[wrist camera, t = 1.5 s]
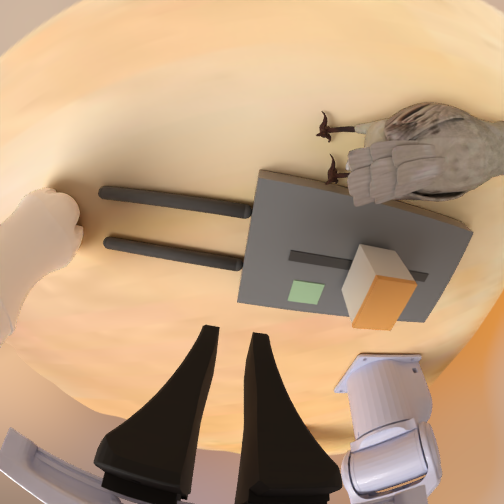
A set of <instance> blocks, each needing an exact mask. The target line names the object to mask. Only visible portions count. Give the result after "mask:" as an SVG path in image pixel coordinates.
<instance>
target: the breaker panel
mask: <svg viewBox="0 0 504 504" xmlns="http://www.w3.org/2000/svg"><path fill="white" fill-rule="evenodd" d="M472 235H473V231H471V230H470V229H469V228H468V227H467V226H466V225H465V224H464V223H462V222H461V221H458V220H455V219H453V218H450V217H447V216H444V215H441V214H438V213H435V212H432V211H429V210H426V209H422V208H419V207H416V206H413V205H409V204H406V203H403V202H399V201H396V200H389V201H386V202H384V203H380V204H375V201H374V202H371V203H368V204H365V205H363V206H357V207H356V206H354V202H353V196H351V195H350V194H349V190H348V188H347V187H342V186H338V185H334V184H328V185H325V182H321V181H316V180H311V179H306V178H302V177H297V176H291V175H286V174H281V173H275V172H270V171H264V170H259V175H258V181H257V186H256V192H255V198H254V204H253V209H252V215H251V221H250V227H249V233H248V238H247V244H246V250H245V256H244V262H243V268H242V274H241V280H240V286H239V293H238V300H237V302H239V303H245V304H252V305H258V306H265V307H272V308H280V309H287V310H295V311H303V312H311V313H319V314H328V315H337V316H347V317H350V316H349V313H348V310H347V306H346V303H345V300H344V296H343V293H342V290H341V289H342V287H343V284H344V282H345V280H346V277H347V275H348V272H349V270H350V267H351V265H352V262H353V260H354V257H355V255H356V252H357V250H358V247H359V244H363V245H368V246H373V247H378V248H383V249H388V250H393V251H396V253H397V254H398V256H399V257H400V259H401V260H402V262H403V263H404V265H405V266H406V268H407V269H408V271H409V272H410V274H411V275H412V277H413V278H414V280H415V282H416V283H417V286H416V288H415V290H414V292H413V294H412V296H411V297H410V299H409V301H408V303H407V304H406V306H405V308H404V309H403V311H402V313H401V314H400V316H399V318H398V319H397V321H407V322H425V320H426V319H427V317H428V316H429V314H430V313H431V311H432V310H433V308H434V306H435V305H436V303H437V302H438V300H439V298H440V297H441V295H442V293H443V291H444V290H445V288H446V286H447V284H448V283H449V281H450V279H451V277H452V275H453V274H454V272H455V270H456V268H457V266H458V264H459V262H460V260H461V258H462V256H463V254H464V252H465V250H466V248H467V246H468V243H469V241H470V239H471V237H472Z"/></svg>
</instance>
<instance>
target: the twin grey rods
mask: <svg viewBox="0 0 504 504" xmlns="http://www.w3.org/2000/svg"><path fill="white" fill-rule="evenodd" d="M98 194H99V197H100V198H102V199H107V200H116V201H124V202H132V203H140V204H148V205H155V206H163V207H170V208H177V209H184V210H191V211H198V212H205V213H212V214H218V215H225V216H231V217H237V218H244V219H246V218H249V217H250V216H251V214H252V208H251V207H250V206H249V205H247V204H241V203H234V202H228V201H221V200H215V199H208V198H201V197H194V196H186V195H179V194H171V193H163V192H155V191H146V190H137V189H128V188H118V187H108V186H103V187H101V188H100V189H99V192H98ZM103 244H104V247H105V248H107V249H112V250H118V251H123V252H129V253H134V254H139V255H145V256H150V257H156V258H162V259H167V260H173V261H179V262H185V263H190V264H196V265H202V266H208V267H214V268H220V269H226V270H232V271H239V270H241V269H242V267H243V262H242V260H240V259H239V258H233V257H227V256H221V255H215V254H208V253H202V252H196V251H190V250H184V249H178V248H172V247H166V246H160V245H154V244H148V243H142V242H137V241H131V240H125V239H119V238H113V237H106V238H105V239H104V241H103Z"/></svg>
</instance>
